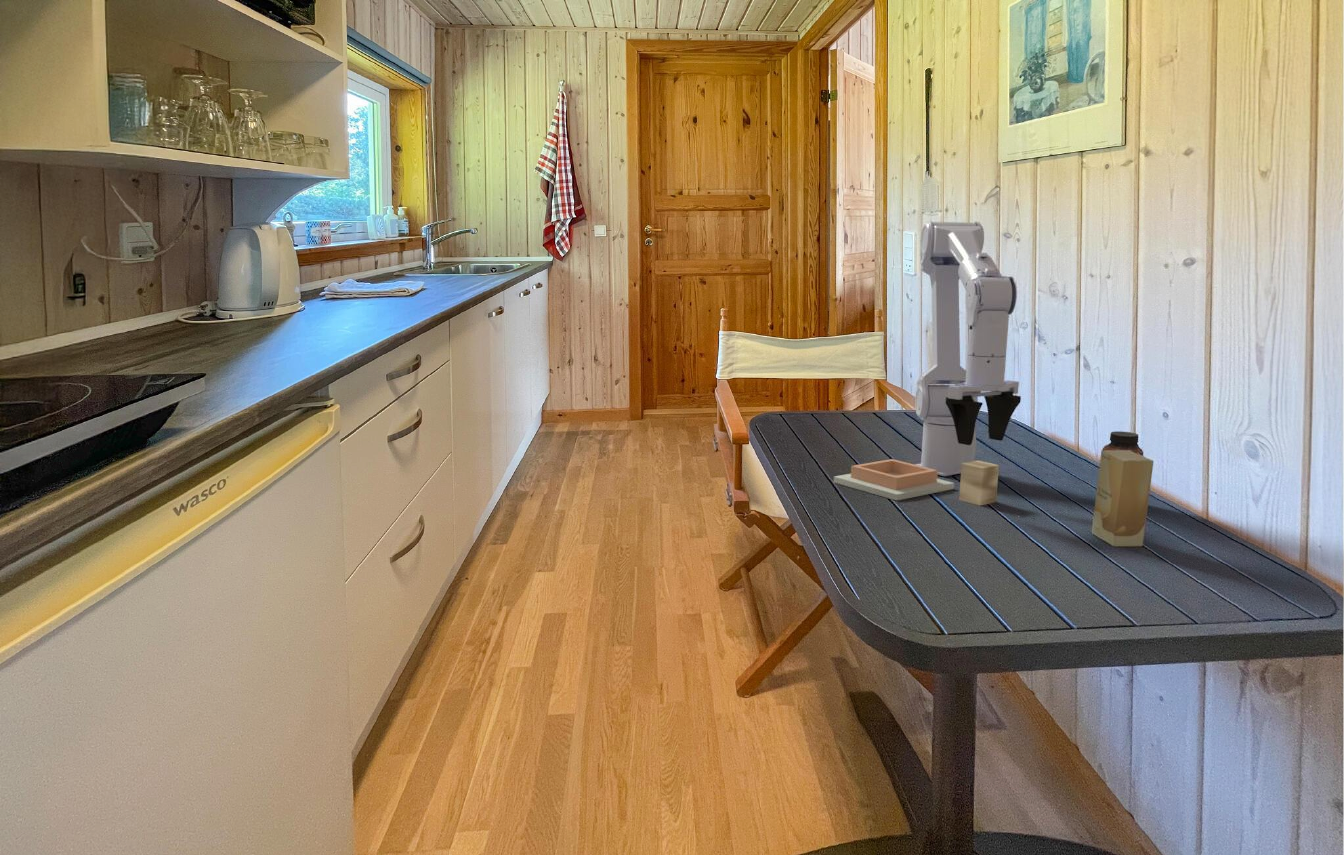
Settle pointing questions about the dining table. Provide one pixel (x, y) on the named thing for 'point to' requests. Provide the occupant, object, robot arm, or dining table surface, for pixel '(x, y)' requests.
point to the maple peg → (978, 482)
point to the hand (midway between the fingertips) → (980, 441)
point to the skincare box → (1122, 497)
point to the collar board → (894, 479)
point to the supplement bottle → (1123, 442)
